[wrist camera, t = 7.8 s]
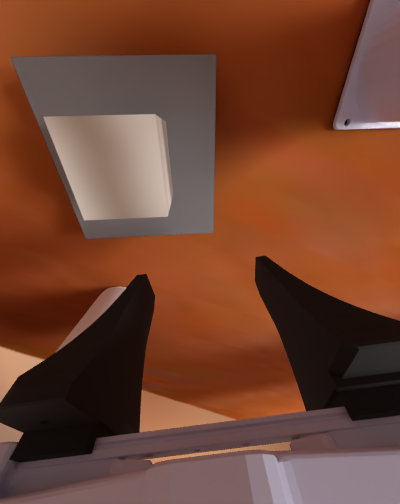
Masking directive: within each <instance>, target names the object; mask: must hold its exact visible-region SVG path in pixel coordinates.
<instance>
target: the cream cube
mask: <svg viewBox="0 0 400 504" xmlns="http://www.w3.org/2000/svg"><path fill="white" fill-rule="evenodd" d="M43 118H44V120H45V123H46V125H47V128H48V130H49V133H50V136H51V138H52V141H53V143H54V146H55V148H56V151H57V153H58V156H59V158H60V161H61V163H62V166H63V168H64V171H65V173H66V176H67V179H68V181H69V184H70V186H71V189H72V191H73V194H74V196H75V199H76V201H77V204H78V206H79V209H80V211H81V214H82V216H83V219H84V220H104V219H127V218H149V217H168V214H169V210H170V205H171V201H172V197H173V188H172V178H171V169H170V159H169V149H168V139H167V130H166V121H165V120H163V119H162V118H160V117H159V116H157V115H155V114H137V115H95V116H53V117H43Z"/></svg>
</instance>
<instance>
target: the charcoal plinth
mask: <svg viewBox="0 0 400 504" xmlns="http://www.w3.org/2000/svg"><path fill="white" fill-rule="evenodd" d="M11 60H12V62H13V65H14V67H15V69H16V72H17V74H18V77H19V79H20V81H21V84H22V86H23V89H24V91H25V93H26V96H27V98H28V101H29V103H30V105H31V108H32V110H33V113H34V115H35V117H36V120H37V122H38V125H39V127H40V129H41V132H42V134H43V137H44V139H45V141H46V144H47V146H48V149H49V151H50V154H51V156H52V158H53V161H54V163H55V166H56V168H57V170H58V173H59V175H60V178H61V180H62V182H63V185H64V187H65V190H66V192H67V194H68V197H69V199H70V202H71V204H72V206H73V209H74V211H75V214H76V216H77V218H78V221H79V223H80V226H81V228H82V230H83V233H84V235H85V238H86V239H96V238H117V237H137V236H157V235H177V234H197V233H213V230H214V170H215V110H216V54H185V55H113V56H41V57H11ZM137 114H155V115H157V116H159V117H160V118H162V119H163V120H165V121H166V130H167V139H168V149H169V159H170V169H171V178H172V188H173V197H172V201H171V205H170V210H169V214H168V217H149V218H127V219H104V220H84V219H83V216H82V214H81V211H80V209H79V206H78V204H77V201H76V199H75V196H74V194H73V191H72V189H71V186H70V184H69V181H68V179H67V176H66V173H65V171H64V168H63V166H62V163H61V161H60V158H59V156H58V153H57V151H56V148H55V146H54V143H53V141H52V138H51V136H50V133H49V130H48V128H47V125H46V123H45V120H44V118H43V117H53V116H95V115H137Z"/></svg>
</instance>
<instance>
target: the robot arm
mask: <svg viewBox="0 0 400 504" xmlns="http://www.w3.org/2000/svg"><path fill="white" fill-rule="evenodd" d="M345 120H347V124H346V125H344V122H345ZM333 128H334V129H335V130H348V129H381V128H400V0H370V3H369V7H368V10H367V13H366V16H365V20H364V23H363V26H362V30H361V33H360V36H359V39H358V43H357V46H356V49H355V53H354V56H353V59H352V63H351V66H350V69H349V72H348V76H347V79H346V82H345V86H344V89H343V92H342V95H341V99H340V102H339V105H338V109H337V112H336V115H335V118H334V122H333ZM255 282H256V285H257V288H258V291H259V293H260V296H261V298H262V300H263V302H264V304H265V306H266V308H267V310H268V312H269V314H270V315H271V317H272V319H273V321H274V323H275V325H276V328H277V330H278V332H279V335H280V337H281V340H282V342H283V345H284V348H285V350H286V353H287V356H288V358H289V361H290V364H291V367H292V369H293V372H294V375H295V378H296V381H297V384H298V387H299V390H300V393H301V396H302V399H303V402H304V405H305V409H306V411H305V412H297V413H289V414H282V415H274V416H266V417H258V418H250V419H242V420H235V421H227V422H219V423H211V424H203V425H195V426H188V427H180V428H172V429H164V430H156V431H148V432H141V433H139V428H140V406H141V391H142V378H143V368H144V359H145V350H146V344H147V339H148V335H149V330H150V326H151V321H152V317H153V312H154V303H155V295H154V292H153V290H152V287H151V285H150V282H149V280H148V277H147V275H146V274H142V275H137V276H136V277H135V278H134V279H133V281H132V282H131V283H130V284H129V285H128V287H127V288H126V289H125V290H124V291H123V292H122V294H121V295H120V296H119V297H118V298H117V299H116V300H115V301H114V302H113V304H112V305H111V306H110V307H109V308H108V309H107V310H106V311H105V312H104V313H103V314H102V315H101V316H100V317H99V318H98V319H97V320H96V321H95V322H93V323H92V324H91V325H90V326H89V327H88V328H87V329H85V330H84V331H83V332H82V333H80V334H79V335H78V336H77V337H76V338H74V339H73V340H72V341H71V342H69V343H68V344H67V345H65V346H64V347H63V348H61V349H60V350H58V351H57V352H56V353H54V354H53V355H51V356H50V357H48V358H47V359H45V360H44V361H42V362H41V363H39V364H38V365H37V366H35V367H33V368H32V369H30V370H29V371H27V372H25V373H24V374H22V375H21V376H19V377H18V378H17V380H16V381H15V383H14V384H13V385H12V387H11V388H10V390H9V391H8V393H7V394H6V395H5V397H4V398H3V400H2V401H1V403H0V423H2V424H5V425H7V426H9V427H12V428H14V429H16V430H18V431H21V432H23V435H22V437H21V439H20V441H19V442H3V443H0V504H400V321H398V320H395V319H392V318H388V317H385V316H382V315H379V314H376V313H373V312H370V311H367V310H364V309H362V308H359V307H356V306H354V305H351V304H349V303H346V302H344V301H341V300H339V299H337V298H334V297H332V296H330V295H328V294H326V293H324V292H322V291H320V290H318V289H316V288H314V287H312V286H310V285H308V284H307V283H305V282H303V281H302V280H300V279H298V278H297V277H295V276H293V275H292V274H290V273H289V272H287V271H286V270H284V269H283V268H282V267H280V266H279V265H277V264H276V263H275V262H273V261H272V260H271V259H269V258H268V257H266V256H260V257H256V266H255ZM290 441H292V442H291V443H290V447H291V450H289V451H266V450H246V451H237V452H229V453H221V454H212V455H204V456H196V457H188V458H180V459H173V460H166V461H161V462H157V463H155V464H152V462H151V461H150V460H144V459H152V458H159V457H168V456H176V455H184V454H192V453H201V452H208V451H217V450H225V449H232V448H241V447H249V446H257V445H266V444H274V443H282V442H290Z"/></svg>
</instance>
